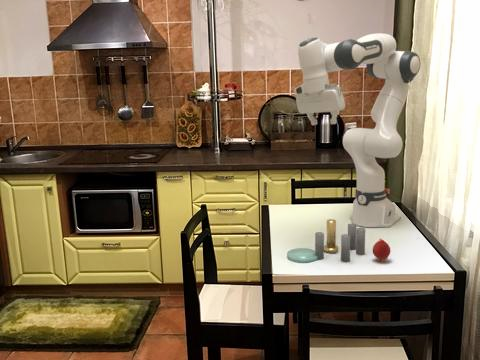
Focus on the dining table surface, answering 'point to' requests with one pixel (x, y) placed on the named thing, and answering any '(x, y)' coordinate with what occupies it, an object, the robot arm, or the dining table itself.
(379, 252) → the pomegranate
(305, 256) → the saucer
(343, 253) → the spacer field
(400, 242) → the dining table surface
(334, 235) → the bolt
